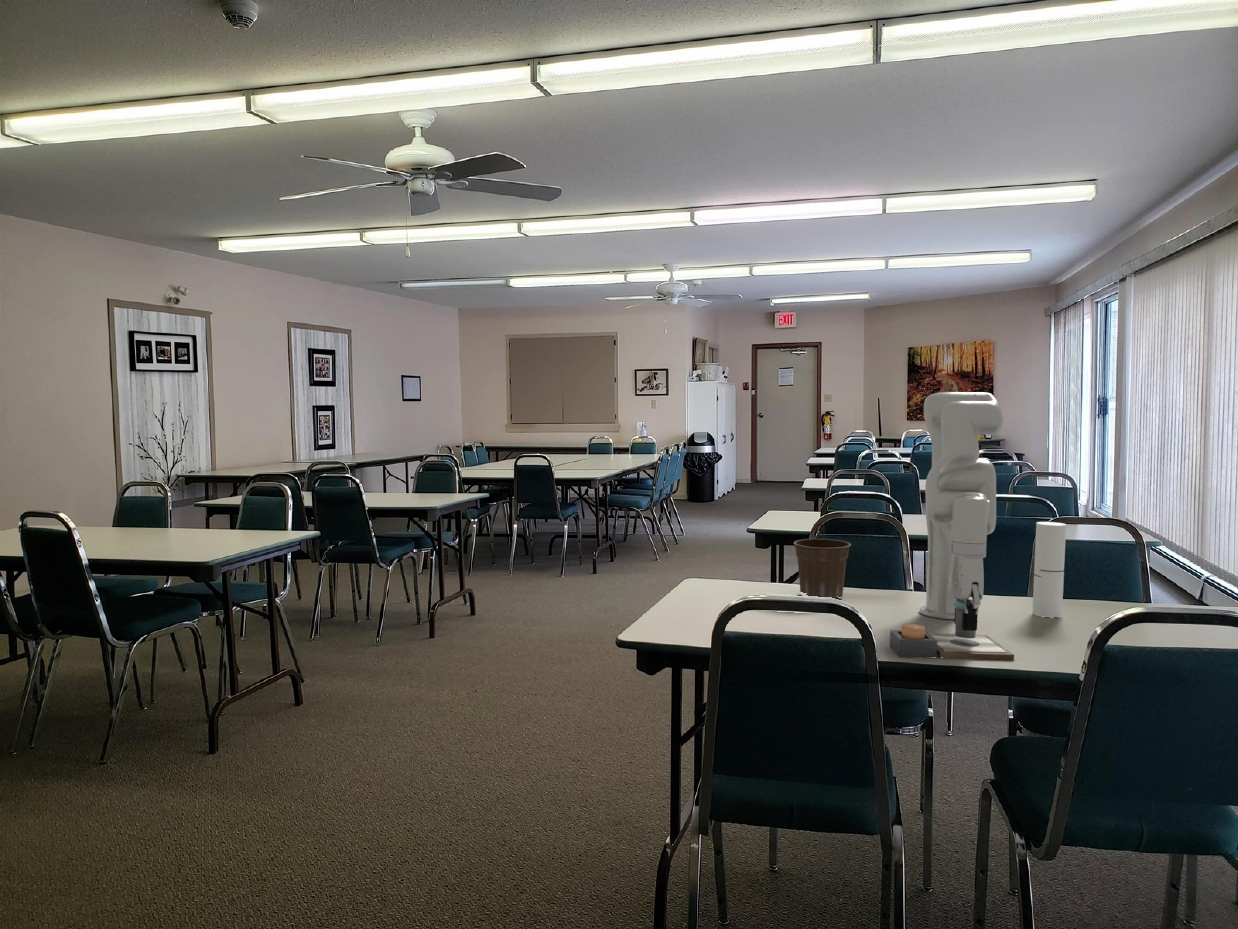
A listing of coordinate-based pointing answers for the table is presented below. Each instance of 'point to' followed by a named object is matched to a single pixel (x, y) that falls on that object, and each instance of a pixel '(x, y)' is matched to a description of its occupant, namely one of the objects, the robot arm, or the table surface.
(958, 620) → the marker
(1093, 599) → the table surface
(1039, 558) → the cylindrical container
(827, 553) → the plant pot
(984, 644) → the board
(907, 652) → the button housing
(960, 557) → the robot arm
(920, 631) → the button
